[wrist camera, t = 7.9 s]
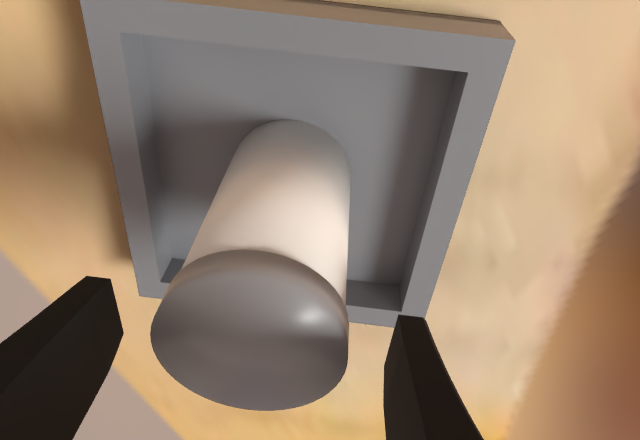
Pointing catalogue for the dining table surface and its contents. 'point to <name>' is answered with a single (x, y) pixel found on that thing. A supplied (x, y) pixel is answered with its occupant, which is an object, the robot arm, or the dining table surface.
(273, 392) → the salt shaker
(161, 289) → the gray tray
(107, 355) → the robot arm
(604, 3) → the dining table surface
